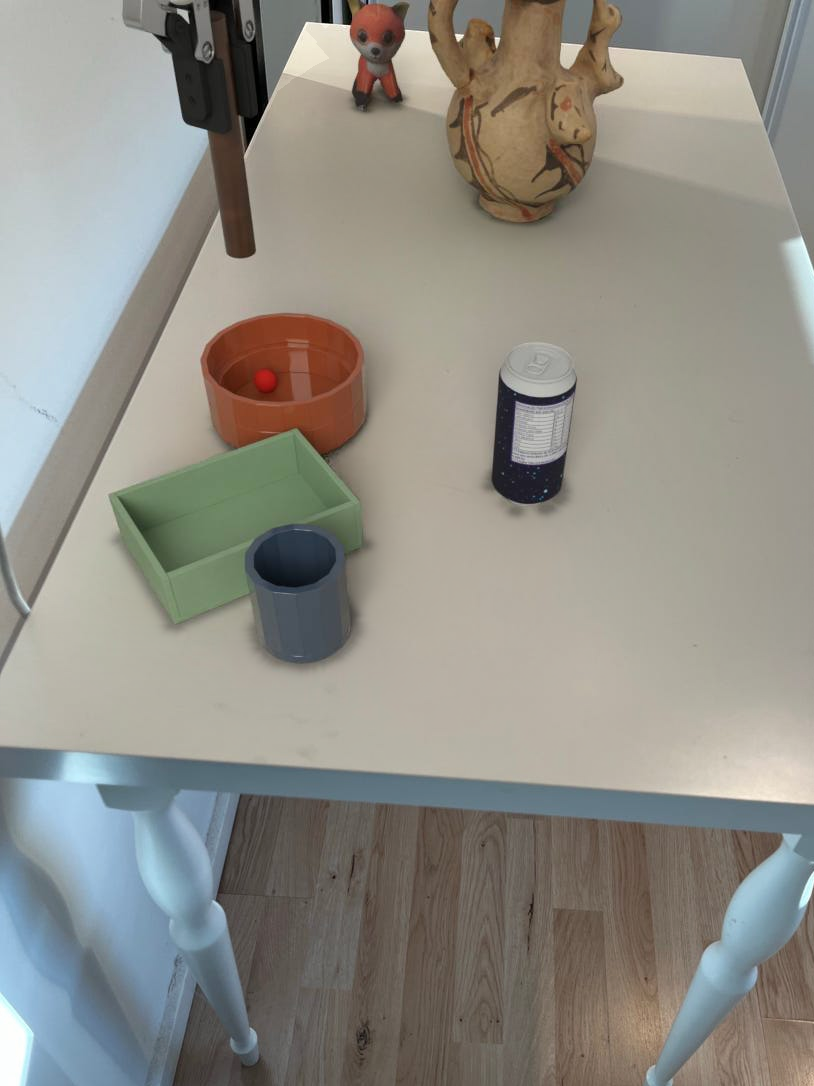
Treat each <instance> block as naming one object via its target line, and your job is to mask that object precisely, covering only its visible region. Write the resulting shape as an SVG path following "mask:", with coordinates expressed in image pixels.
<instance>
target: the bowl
mask: <svg viewBox="0 0 814 1086" xmlns="http://www.w3.org/2000/svg"><path fill="white" fill-rule="evenodd" d="M365 359H366V358H365V352H364V349H363V346H362V344H361V341H360V339H359V338H358V337H356V336H355V334H353V332H351V331H350V330H349V328H348V327H345V326H343V325H341V324H339V323H337V322H335V321H333V320H331V319H329V318H325V317H322V316H317V315H313V314H310V313H297V312H278V313H268V314H259V315H256V316H252V317H249V318H245V319H243V320H238V321H236V322H234V323H233V324H231V325H229V326H227V327H225V328H223V329H222V330H220V331H218V332H217V333H216V334H215V335H214V336H213V337H212V338H211V339H210V340H209V341H208V342H207V343H205V345H204V348H203V351H202V354H201V356H200V359H199V362H200V368H201V373H202V378H203V382H204V388H205V393H206V398H207V404H208V407H209V412H210V419H211V422H212V427H213V428H214V429H215V431H216V432H217V434H218V435H219V436H220V437H221V439H222V440H223V441H224V442H226V443H228V444H229V445H230V446H233V447H235V449H238V448H241V447H244V446H247V445H250V444H253V443H256V442H258V441H261V440H264V439H267V438H270V437H273V436H276V435H278V434H281V433H284V432H287V431H290V430H292V429H295V428H297V429H298V430H299V431H300V433H301V434H302V435H303V436H304V437H305V438H306V440H307V441H308V442H309V443H310V444H311V445H312V447H313V448H314V449H315V450H316V451H317V452H318V454H319V455H320V456H321V457H322V456H324V455H326V454H329V453H331V452H333V451H334V450H336V449H338V448H340V447H341V446H342V445H344V444H346V442H347V441H348V440H350V439H351V438H352V437H354V436H355V435H356V434H357V432H358V431H359V430H360V428H361V426H363V424H364V423H365V420H366V414H367V410H368V397H367V396H368V395H367V379H366V378H367V377H366V360H365ZM261 369H269V370H271V371H273V372H274V373H275V375H276V377H277V381H278V383H277V386H276V388H275V389H274V390H273V391H272V392H269V393H263V392H261V391H259V390H258V389H257V388H256V387H255V384H254V376H255V374H256V373H257V372H258V371H259V370H261Z"/></svg>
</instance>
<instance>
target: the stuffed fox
mask: <svg viewBox="0 0 814 1086" xmlns="http://www.w3.org/2000/svg"><path fill="white" fill-rule="evenodd" d="M347 3H348V6H349V9H350V12H351V15H352V20H351V23H350V27H349V38H350V41H351V44H352V45H353V46H354V48H355V49H356V50H357V52H358V53H359V54H360V55H359V58H358V61H357V73H356V75H355V78H354V81H353V84H352V88H351V94H352V96H353V98H354V100H355V101H354V102H355V106H356V108H357V109H359V110H361V111H362V112H366V111H367V108H366V106H367V104H368V102H369V101H370V99H371V97H372V96H373V95H372V94H373V90H374V85H375V83H376V82H377V81H379V83H380V85H381V87H382V90H383V92H384V93H385V94H386V96H387V98H388V99H389V100H390V102H392V103H403V102H404V101H403V100H404V98H403V94H402V90H401V88H400V86H399V84H398V80H397V76H396V71H395V68H394V63H393V58H394V57H395V56H396V54H397V53H398V51H399V50H400V48H401V47H402V44H403V43H404V41H405V38H406V28H405V19H406V16H407V14H408V10H409V8H410V3H408V2H405V1H400V2H398V3H396V4H394V5H393V6H389V5H387V4H384V3H370V4H366V3H364V2H363V1H362V0H347Z"/></svg>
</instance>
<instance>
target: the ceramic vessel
mask: <svg viewBox="0 0 814 1086" xmlns="http://www.w3.org/2000/svg"><path fill="white" fill-rule="evenodd" d="M458 3H459V0H429V4H428V7H427V9H428V10H427V29H428V36H429V41H430V46H431V49H432V51H433V53H434V55H435V57H436V59H437V61H438V63H439V65H440V68H441V69H442V71H443V72H444V74H445V75H446V77H447V78H448V80H449V81H450V82H451V85H453V87H454V88H455V90H454V91H453V94H452V96H451V98H450V102H449V106H448V108H447V112H446V118H445V119H446V120H445V132H446V138H447V143H448V148H449V153H450V157H451V159H452V162H453V166H454V168H455V169H456V170H457V172H458V173H459V175H460V176H461V178H462V179H464V181H466V183H467V184H469V185H471V186H472V187H474V188H475V189H477V190H478V193H479V199H478V202H479V204H480V206H481V208H482V209H483V210H484V211H486V212H487V213H488V214H490V215H492V216H493V217H494V218H497V219H500V220H502V221H505V222H511V223H520V224H521V223H531V222H535V221H537V220H540V219H541V218H544V217H547V216H548V215H549V214H551V213H552V212H553V211H554V210H555V206H556V200H560V199H562V198H564V197H566V196H568V195H569V194H570V193H572V191H574V190H575V189H576V188H577V187H578V186H579V185H580V183H582V181H583V179H584V178H585V176H586V174H587V172H588V170H589V168H590V166H591V163H592V161H593V157H594V152H595V150H596V149H595V148H596V145H597V135H598V125H597V116H596V113H595V109H594V101H595V100H596V98H598V97H600V96H603V95H607V94H609V93H611V92H614V91H616V90H618V89H620V88H621V87H623V85H624V83H625V79H624V77H623V76H622V75H621V74H620V73H618V72H617V71H616V70H615V68H614V67H613V64H612V62H611V59H610V53H609V45H610V43H611V41H612V39H613V36H614V35H615V33H616V32H617V31H618V30H619V29H620V27H621V26H622V22H623V16H622V12H621V9H620V8H619V7H618V6H617V5H615V4H613V3H608V2H607V1H606V0H592V4H593V6H592V11H591V17H590V22H589V26H588V29H587V30H588V31H587V36H586V40H585V42H584V44H583V46H581V48H580V49H579V51H578V53H577V55H576V58H575V60H574V62H573V63H572V64H571V66H570V67H569V68H566V67H564V66H563V65H562V64H561V50H562V40H563V39H562V37H563V21H564V13H565V7H566V3H567V0H504V9H503V12H502V13H503V14H502V20H501V28H500V29H501V30H500V37H499V41H498V44H497V45H496V37H495V32H494V29H493V26H492V25H491V24H490V23H489V22H488V21H487V20H485V19H482V18H479V17H474V18H472V19H470V20H468V22H467V26H466V30H465V32H464V34H463V36H462V37H461V38H460V40H459V41H458V40H457V37H456V33H455V27H454V13H455V10H456V7H457V5H458Z"/></svg>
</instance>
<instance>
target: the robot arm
mask: <svg viewBox="0 0 814 1086" xmlns="http://www.w3.org/2000/svg"><path fill="white" fill-rule="evenodd" d="M257 2H258V0H122V13H121V14H122V21H123V24H124V25H125V27H127V28H128V29H132V30H136V31H139V32H140V31H141V32H145V33H149V34H152V35H153V37H155V38H156V39H157V40H158V41H159V42H160V45H161V49H162V51H163V52H164V53H165V54H168V55H171V61H172V67H173V73H174V77H175V85H176V89H177V96H178V102H179V107H180V114H181V119H182V120H183V122H184V124H186V125H187V126H190V127H194V128H196V129H197V128H198V129H202V130H205V131H207V130H208V131H212V132H216V133H219V134H226V133H227V132H229V131H230V130H231V129H232V121H231V114H230V107H229V99H228V92H227V85H226V77H225V70H224V64H223V59H220V58H216V57H214V43H213V36H212V29H211V22H210V14H209V10H215V11H219V12H222V13H224V14H225V16H226V22H227V30H228V37H229V45H230V53H231V61H232V68H233V76H234V84H235V91H236V99H237V107H238V114H239V117H243V118H246V119H252V118H254V117H255V116H257V115H258V113H259V105H258V99H257V97H258V96H257V89H256V81H255V71H254V63H253V54H252V46H251V44H250V42H252V41H253V40H254V38H255V36H256V21H255V13H254V12H255V8H256V5H257ZM178 9H179V10H182V11H186V12H187V18H188V21H187V20H186V18H184V17H183V15H181V14H180V13H178ZM247 42H248V43H247Z"/></svg>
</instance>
